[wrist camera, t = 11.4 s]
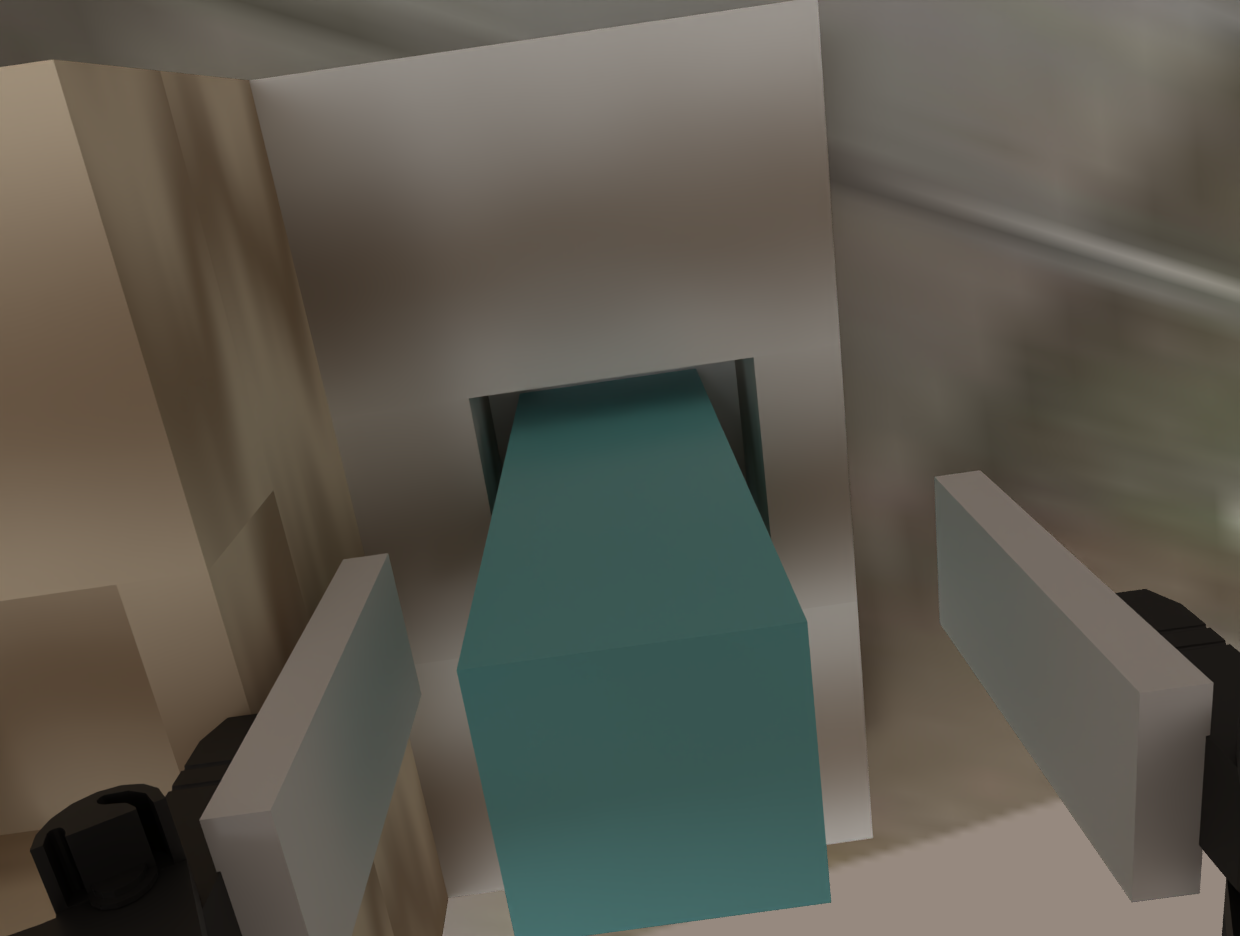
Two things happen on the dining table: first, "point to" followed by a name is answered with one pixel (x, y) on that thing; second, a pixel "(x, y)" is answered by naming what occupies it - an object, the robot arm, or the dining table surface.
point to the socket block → (383, 380)
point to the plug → (639, 672)
